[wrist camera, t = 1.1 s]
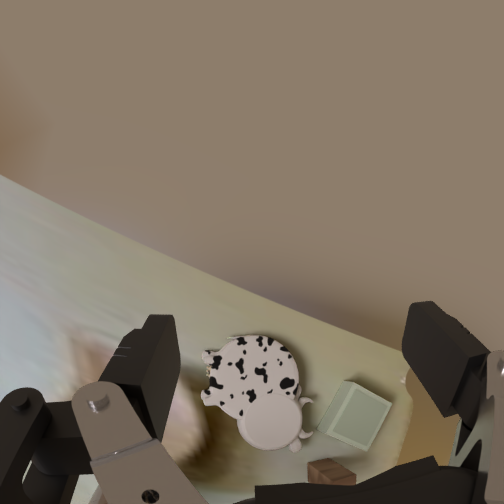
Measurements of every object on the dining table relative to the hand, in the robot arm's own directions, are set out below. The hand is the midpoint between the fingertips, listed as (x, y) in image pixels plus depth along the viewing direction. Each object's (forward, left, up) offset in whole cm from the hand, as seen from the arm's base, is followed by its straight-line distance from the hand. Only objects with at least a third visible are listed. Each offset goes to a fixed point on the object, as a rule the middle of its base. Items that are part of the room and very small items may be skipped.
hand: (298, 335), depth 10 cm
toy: (-3, -14, -47) cm, 49 cm away
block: (-11, -33, -47) cm, 58 cm away
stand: (+2, -33, -46) cm, 57 cm away
